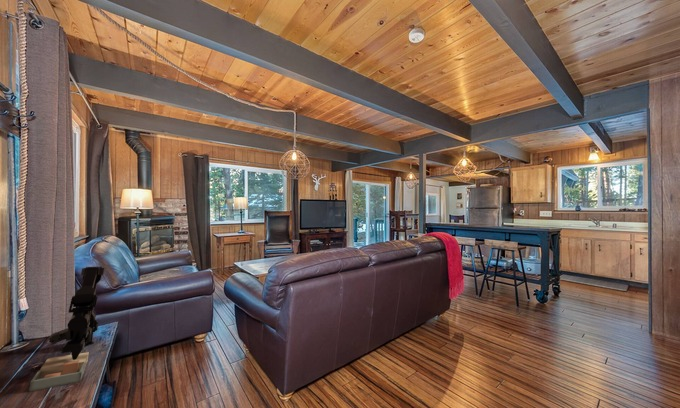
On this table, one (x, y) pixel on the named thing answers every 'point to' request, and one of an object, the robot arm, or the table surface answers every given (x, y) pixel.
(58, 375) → the tile
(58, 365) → the shallow cream tray
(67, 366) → the tile
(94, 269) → the robot arm
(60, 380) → the tray
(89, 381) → the table surface
